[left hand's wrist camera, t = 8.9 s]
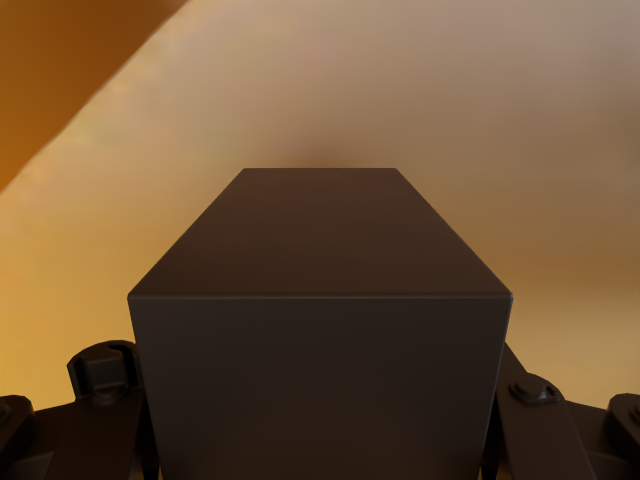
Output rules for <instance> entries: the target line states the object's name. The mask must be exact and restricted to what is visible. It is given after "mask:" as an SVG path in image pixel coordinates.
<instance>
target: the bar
mask: <svg viewBox="0 0 640 480" xmlns="http://www.w3.org/2000/svg"><path fill="white" fill-rule="evenodd" d="M127 300H128V305H129V310H130V316H131V321H132V326H133V331H134V336H135V341H136V346H137V351H138V356H139V361H140V366H141V371H142V376H143V381H144V386H145V391H146V396H147V402H148V407H149V412H150V417H151V422H152V427H153V432H154V437H155V442H156V447H157V452H158V457H159V462H160V467H161V472H162V477H163V480H478V476H479V471H480V466H481V461H482V456H483V451H484V445H485V440H486V435H487V430H488V425H489V420H490V415H491V410H492V405H493V399H494V394H495V389H496V384H497V379H498V374H499V369H500V364H501V358H502V353H503V348H504V343H505V338H506V333H507V328H508V323H509V317H510V312H511V307H512V302H513V294H512V292H511V291H510V290H509V289H508V288H507V287H506V286H505V285H504V284H503V283H502V282H501V281H500V280H499V279H498V277H497V276H496V275H495V274H494V273H493V272H492V271H491V270H490V269H489V268H488V267H487V266H486V265H485V263H484V262H483V261H482V260H481V259H480V258H479V257H478V256H477V255H476V254H475V253H474V252H473V251H472V249H471V248H470V247H469V246H468V245H467V244H466V243H465V242H464V241H463V240H462V239H461V238H460V237H459V236H458V234H457V233H456V232H455V231H454V230H453V229H452V228H451V227H450V226H449V225H448V224H447V223H446V222H445V220H444V219H443V218H442V217H441V216H440V215H439V214H438V213H437V212H436V211H435V210H434V209H433V208H432V207H431V205H430V204H429V203H428V202H427V201H426V200H425V199H424V198H423V197H422V196H421V195H420V194H419V193H418V191H417V190H416V189H415V188H414V187H413V186H412V185H411V184H410V183H409V182H408V181H407V180H406V179H405V178H404V176H403V175H402V174H401V173H400V172H399V171H398V170H397V169H396V168H244V169H243V170H242V171H241V172H240V173H239V174H238V175H237V176H236V177H235V178H234V180H233V181H232V182H231V183H230V184H229V185H228V186H227V187H226V188H225V189H224V190H223V192H222V193H221V194H220V195H219V196H218V197H217V198H216V199H215V200H214V201H213V202H212V203H211V205H210V206H209V207H208V208H207V209H206V210H205V211H204V212H203V213H202V214H201V215H200V216H199V218H198V219H197V220H196V221H195V222H194V223H193V224H192V225H191V226H190V227H189V228H188V230H187V231H186V232H185V233H184V234H183V235H182V236H181V237H180V238H179V239H178V240H177V241H176V243H175V244H174V245H173V246H172V247H171V248H170V249H169V250H168V251H167V252H166V253H165V254H164V256H163V257H162V258H161V259H160V260H159V261H158V262H157V263H156V264H155V265H154V266H153V268H152V269H151V270H150V271H149V272H148V273H147V274H146V275H145V276H144V277H143V278H142V279H141V281H140V282H139V283H138V284H137V285H136V286H135V287H134V288H133V289H132V290H131V291H130V292H129V294H128V297H127Z"/></svg>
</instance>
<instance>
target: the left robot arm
mask: <svg viewBox="0 0 640 480" xmlns="http://www.w3.org/2000/svg"><path fill="white" fill-rule="evenodd" d="M67 369H68V372H69V376H70V379H71V383H72V387H73V390H74V394H75V397H76V399H75V402H72V403H69V404H65V405H61V406H56V407H52V408H47V409H43V410H38V411H34V410H33V407H32V404H31V401H30V400H29V399H27V398H26V397H25V396H19V395H9V396H2V397H0V480H163V477H162V472H161V467H160V462H159V457H158V452H157V447H156V442H155V437H154V432H153V427H152V422H151V417H150V412H149V407H148V402H147V396H146V391H145V386H144V381H143V376H142V371H141V366H140V361H139V356H138V351H137V346H136V343H135V344H134V343H133V342H129V341H125V340H110V341H106V342H102V343H98V344H95V345H93V346H90V347H88V348H86V349H84V350H82V351H81V352H79V353H78V354H76V355H75V356H74V357H73V358H72V359H71V360H70V361H69V363H68V364H67ZM478 480H640V395H637V394H630V393H625V394H617V395H615V396H614V397H613V398H611V399H610V402H609V405H608V408H607V410H605V409H601V408H596V407H592V406H587V405H583V404H578V403H574V402H571V401H567V400H565V398H564V397H563V395H562V394H561V392H560V391H559V389H558V388H556V387H555V386H554V385H553V384H551V383H550V382H549V381H547V380H545V379H543V378H541V377H539V376H537V375H535V374H531V373H527V371H526V370H525V369H524V367H523V366H522V365H521V363H520V362H519V360H518V359H517V358H516V356H515V355H514V353H513V352H512V351H511V349H510V348H509V346H508V345H507V344H506V342H505V343H504V348H503V353H502V358H501V364H500V369H499V374H498V379H497V384H496V389H495V394H494V399H493V405H492V410H491V415H490V420H489V425H488V430H487V435H486V440H485V445H484V451H483V456H482V461H481V466H480V471H479V476H478Z"/></svg>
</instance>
